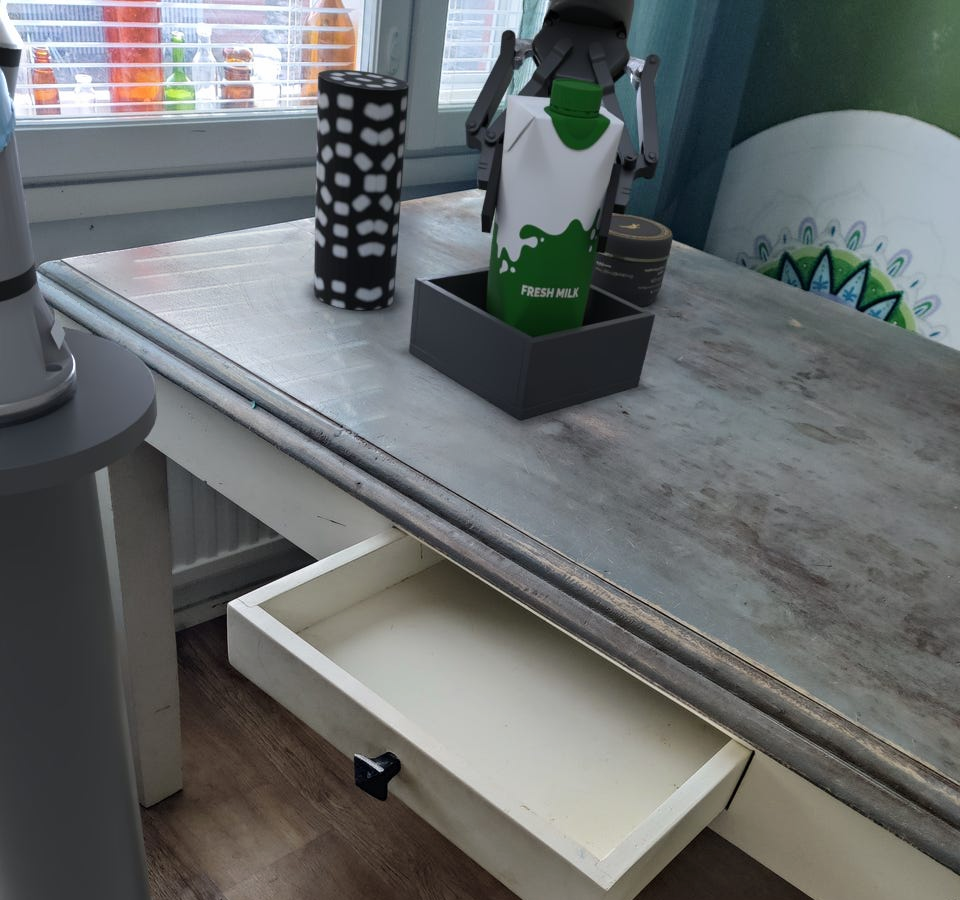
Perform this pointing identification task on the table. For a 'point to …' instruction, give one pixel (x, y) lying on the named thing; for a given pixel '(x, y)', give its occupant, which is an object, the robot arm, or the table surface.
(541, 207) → the milk carton
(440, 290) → the basket
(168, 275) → the table surface
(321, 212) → the white-spotted black cylinder
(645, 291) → the jar
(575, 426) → the table surface
